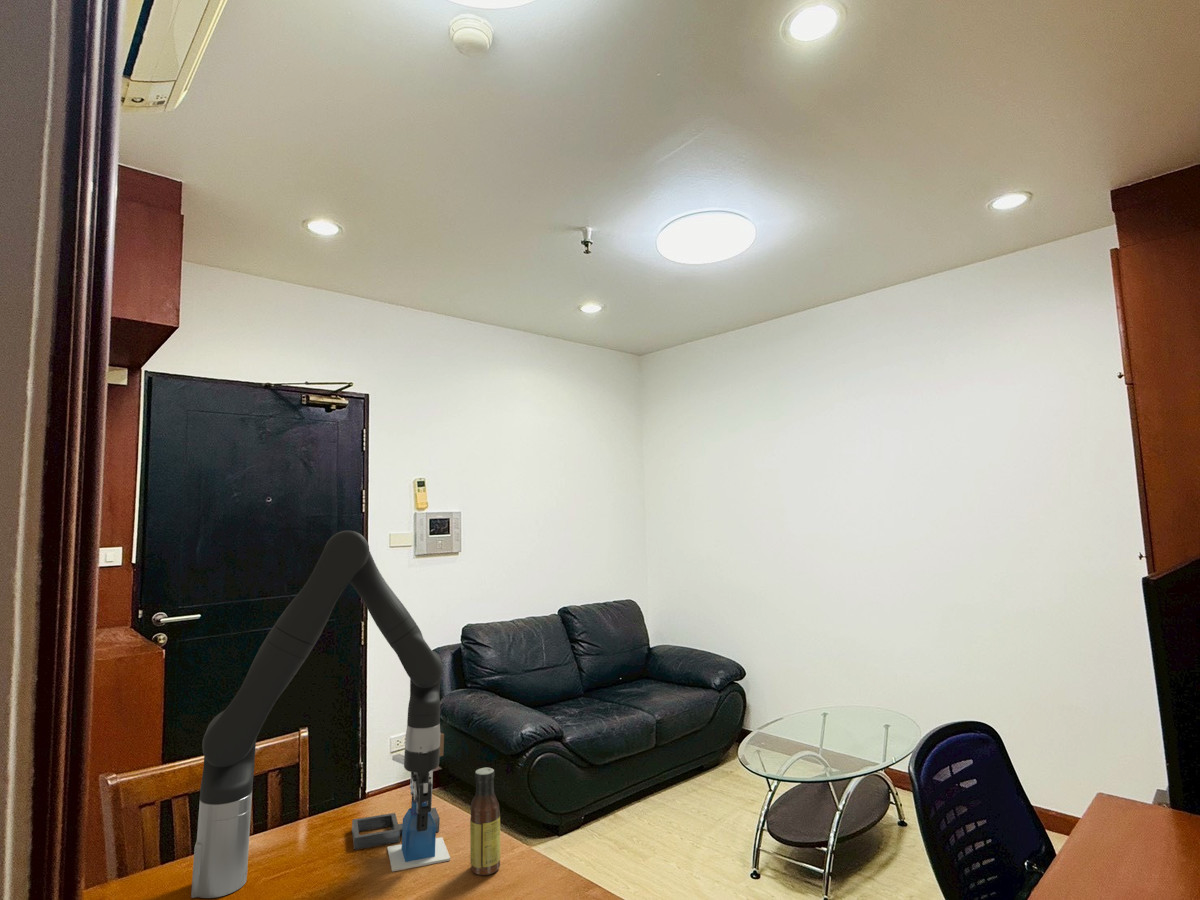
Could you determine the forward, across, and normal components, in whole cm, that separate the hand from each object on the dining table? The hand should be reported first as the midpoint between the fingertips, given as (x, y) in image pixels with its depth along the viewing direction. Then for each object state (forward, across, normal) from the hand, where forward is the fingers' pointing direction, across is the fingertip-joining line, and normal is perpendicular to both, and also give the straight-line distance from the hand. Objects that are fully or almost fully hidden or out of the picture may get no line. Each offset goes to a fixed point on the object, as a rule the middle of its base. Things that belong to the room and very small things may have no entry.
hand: (418, 821), depth 145 cm
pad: (+7, 0, 0) cm, 7 cm away
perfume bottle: (+7, 0, 0) cm, 7 cm away
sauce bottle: (+7, +11, +12) cm, 18 cm away
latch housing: (+7, -12, -3) cm, 14 cm away
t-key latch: (+4, -17, +1) cm, 17 cm away
